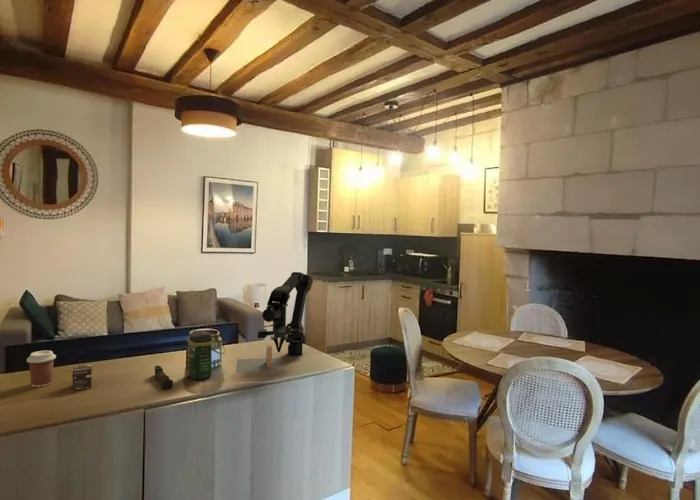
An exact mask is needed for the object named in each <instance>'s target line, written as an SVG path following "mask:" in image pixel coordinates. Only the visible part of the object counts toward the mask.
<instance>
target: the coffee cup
mask: <svg viewBox="0 0 700 500" xmlns="http://www.w3.org/2000/svg"><path fill="white" fill-rule="evenodd" d="M55 359H57V354H54V351H52V350H48V349H47V350H39V351H38V350H37V351H33V352H31V353H30V355H29V356H28V357H27V358H26V363H28V365H29V376H30V383H31V384H33V385H43V384H48V383H50V382H52V383H53V374H54V373H53V372H54V365H55V364H54V361H55Z"/></svg>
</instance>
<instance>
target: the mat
mask: <svg viewBox="0 0 700 500" xmlns="http://www.w3.org/2000/svg"><path fill="white" fill-rule="evenodd" d="M260 372H264V373H265V372H284V364H283V358H282V357H272V367H266V357H265V358H239V359H237V361H236V369H235V373H260Z"/></svg>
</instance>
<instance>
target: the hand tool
mask: <svg viewBox="0 0 700 500" xmlns="http://www.w3.org/2000/svg"><path fill="white" fill-rule="evenodd" d="M154 377H155V380H157V381H158V382H159V384H160V386H161V390H162V391H167V389H168V390H171V389H172V388H173V385H174V380H172V379H170V377H169V375H167V374H166V373H165V372H164V370H163V368H162V366H160V365H155V366H154Z"/></svg>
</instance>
